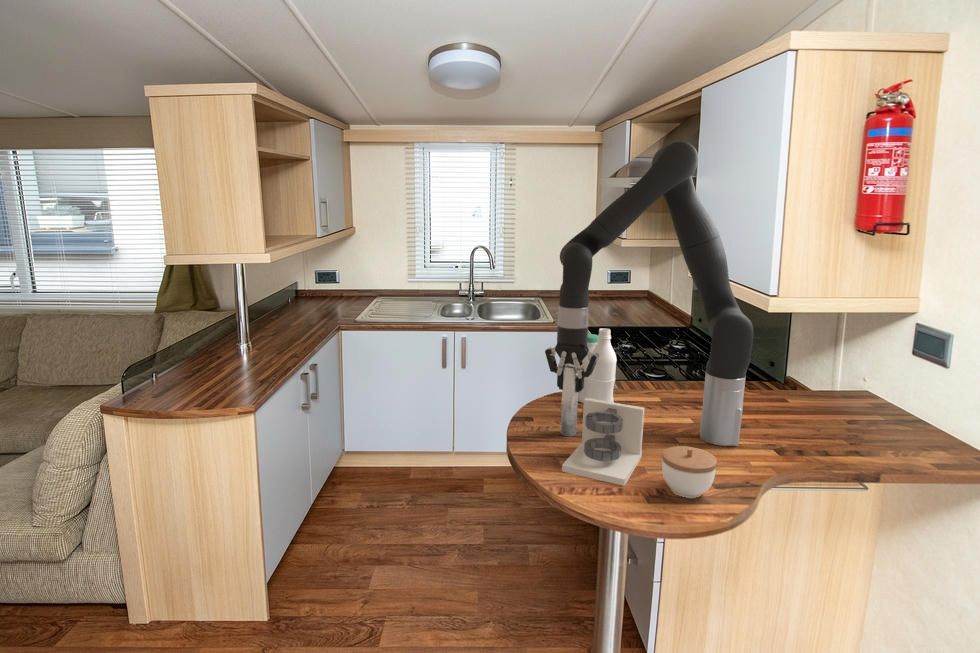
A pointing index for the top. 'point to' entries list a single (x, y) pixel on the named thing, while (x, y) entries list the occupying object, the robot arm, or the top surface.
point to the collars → (609, 440)
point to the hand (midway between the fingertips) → (570, 389)
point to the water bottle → (603, 369)
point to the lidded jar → (688, 470)
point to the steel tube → (569, 401)
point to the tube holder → (626, 438)
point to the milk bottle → (585, 391)
